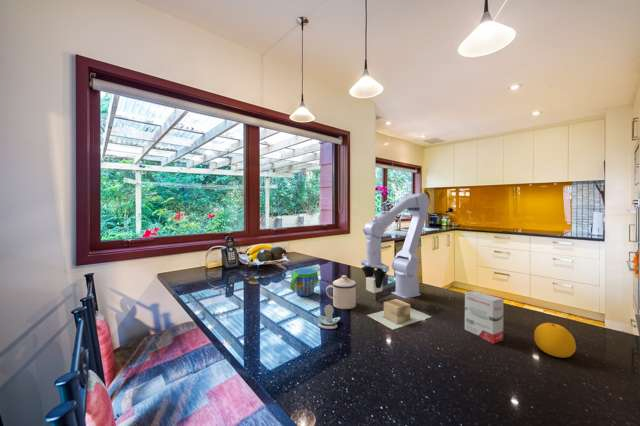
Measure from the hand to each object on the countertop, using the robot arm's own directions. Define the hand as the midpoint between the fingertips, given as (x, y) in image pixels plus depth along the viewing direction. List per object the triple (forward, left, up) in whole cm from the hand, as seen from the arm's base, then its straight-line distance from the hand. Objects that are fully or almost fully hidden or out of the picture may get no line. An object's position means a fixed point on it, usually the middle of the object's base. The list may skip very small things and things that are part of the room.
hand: (374, 285), depth 102 cm
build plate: (+3, +16, -6) cm, 17 cm away
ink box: (-9, +37, -6) cm, 39 cm away
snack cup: (+20, -22, -6) cm, 31 cm away
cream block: (0, 0, -2) cm, 2 cm away
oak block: (+5, +17, -6) cm, 19 cm away
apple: (-15, +51, -6) cm, 54 cm away
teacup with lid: (+14, -3, -6) cm, 16 cm away
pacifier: (+27, +9, -7) cm, 29 cm away
